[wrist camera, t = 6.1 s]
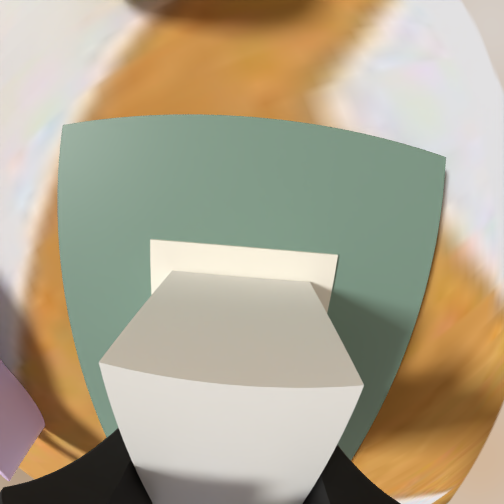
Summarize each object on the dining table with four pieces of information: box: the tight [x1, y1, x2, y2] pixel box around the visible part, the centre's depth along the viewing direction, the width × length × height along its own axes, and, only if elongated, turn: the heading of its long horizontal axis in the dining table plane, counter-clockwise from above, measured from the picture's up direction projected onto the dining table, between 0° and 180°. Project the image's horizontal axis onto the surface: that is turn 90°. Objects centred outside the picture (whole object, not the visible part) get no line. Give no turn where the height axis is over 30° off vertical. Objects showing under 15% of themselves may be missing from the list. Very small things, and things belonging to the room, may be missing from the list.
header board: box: [58, 115, 446, 460], centre depth 10 cm, size 20×14×4 cm
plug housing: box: [99, 270, 364, 504], centre depth 8 cm, size 14×4×5 cm, turn 175°
